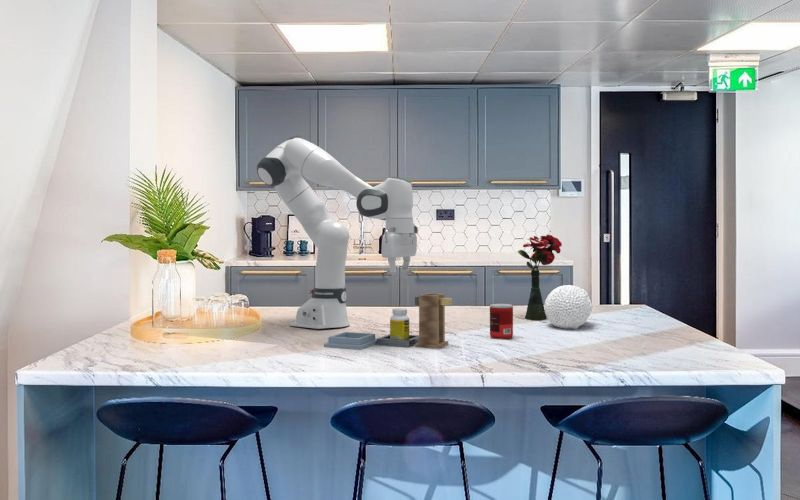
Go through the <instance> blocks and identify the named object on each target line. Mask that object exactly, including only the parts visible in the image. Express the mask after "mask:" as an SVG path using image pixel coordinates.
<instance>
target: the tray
mask: <svg viewBox="0 0 800 500" xmlns="http://www.w3.org/2000/svg"><path fill="white" fill-rule="evenodd" d="M327 341H328V342H324V343H323V347H324V348H336V349H337V348H338V349H346V350H347V349H349V350H360V351H362V350H363V349H367V348H370V347H372V346H375V345H377V338H376V333H369V332H355V331H354V332H352V331H351V332H350V331H343V332H340V333H337V334H336V333H335V334H333V335H330V336H328V338H327Z"/></svg>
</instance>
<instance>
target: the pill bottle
mask: <svg viewBox="0 0 800 500" xmlns="http://www.w3.org/2000/svg"><path fill="white" fill-rule="evenodd" d="M407 314H408V309H407V308H401V307H399V308H393V309H392V315H391V316H390V319H389V326H390V327H389V334H390V339H397V340H409V335H410V317H409V316H408V315H407Z"/></svg>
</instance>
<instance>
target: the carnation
mask: <svg viewBox="0 0 800 500" xmlns="http://www.w3.org/2000/svg"><path fill="white" fill-rule="evenodd" d="M539 237H540V239H539ZM539 237H538V236H536V235H533V237H530V236H529V238H528V237H526V240H528V241H529V242H530V243H529V242H525V243H524V244H523V245H522V247H523V248H530V250H529V251H531V250H532V254H531V256H530V255H529V254H528V253H527V251H525V250H524V249H518V250H517V251H516V252H517V253H518V254H519V255H520V256H522V257H523V258H525V259H527V260H529V261H526V266H527V267H528V268H529V269H531V270H530V275H531V281H530V282H531V288H530V293H529V299H528V303H527V308H526V312H525V316H524V319H525V320H529V321H545V320H548V317H547V315H546V312H545V308H544V306H545V304H544V302H543V297H542V291H541V287H540V270H539V267H540V266H539V265H540V263H541V265H542V266H548V265H551V264H552V263H553V262H554V260H555V257H556V256H555V254H554V252H555V253H556V254H560V253H561V247H562V245H563V244H562V241H560V239H559V238H557V237H555V236H553V235H551V234H546V235H541V236H539ZM553 251H554V252H553ZM532 262H533V263H534V266H533V264H532Z"/></svg>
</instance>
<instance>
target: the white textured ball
mask: <svg viewBox="0 0 800 500" xmlns="http://www.w3.org/2000/svg"><path fill="white" fill-rule="evenodd" d="M545 298H546V299H545V300H544V310H545V314H546V317H547V320H548V321H549V323H551V324H552V325H553V326H555V327H557V328H560V329H564V330H567V329H573V330H577V329H578V328H579V327H581V326H583V325H584V323H586V322H587V320H588V319H589V318H590V316H591V313H592V311H593V310H592V309H593V304H592V300H591V298H590V297H589V293H588V292H587V291H586V290H585V289H583V288H582V287H579V286H577V285H571V284H568V285H566V284H564V285H560V286H558V287H556V288H554V289H553V290H551V291H550V293H549V294H548V295H547V297H545Z"/></svg>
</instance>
